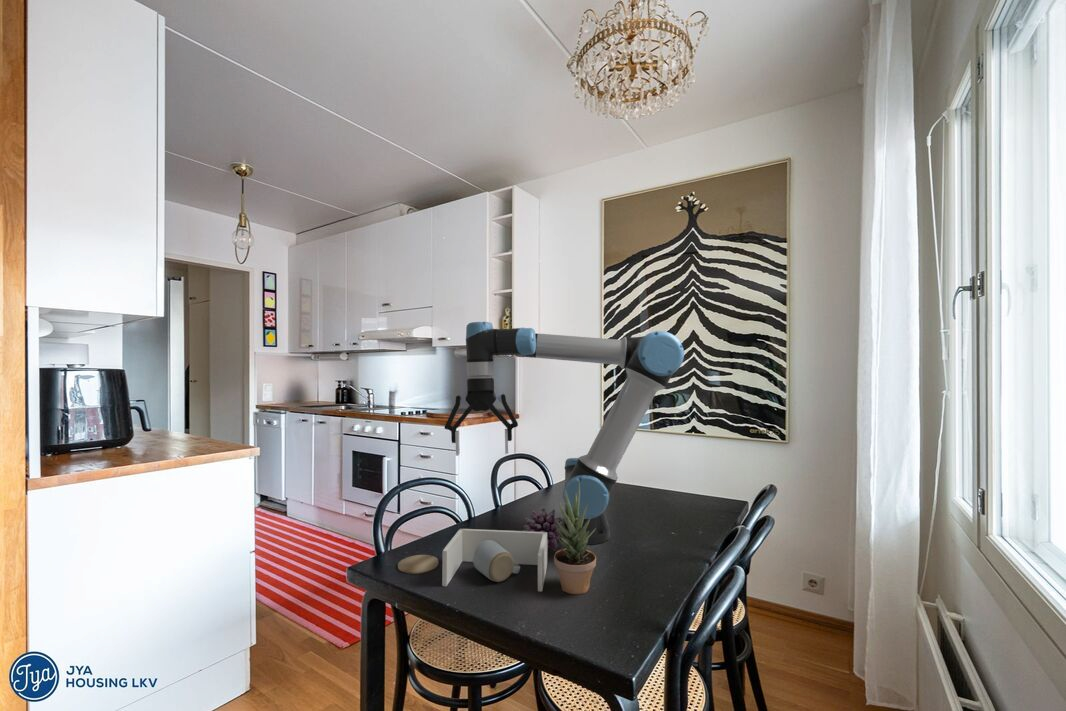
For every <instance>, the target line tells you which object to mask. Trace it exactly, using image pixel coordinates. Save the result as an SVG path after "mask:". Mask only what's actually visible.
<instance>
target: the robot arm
mask: <svg viewBox="0 0 1066 711" xmlns="http://www.w3.org/2000/svg"><path fill="white" fill-rule="evenodd" d="M465 329H466V334H465V347H466V348H465V349H466V350H465V351H466V376H467V377H468V378H467V379H466V387H467V388H466V396H464V395H456V396H455V403H454V406H453V407H452V408H453V409H452V410H451V412H450V414H449V416H448V419H447V420H446V423H445V425H444V430H449V431H450V433H451V434H450V435H451V438H450V439H451V443H452V444H455V456H459V455H460V453H461V452H460V430H457V429H458V428H459V427H460V425H461V424H462V423H463V421H464V420H465V419H466V418H467V417H468V415H470V413H471V412H472V411H475V412H480V411H482V412H486V411H489V410H490V411H491V413H493V414H494V415H495V417H496V418H498V420H499V421H500V422H501V423H502V424H503V425H504V426H505V429H504V448H505V449H504V451H505V453H504V454H505V455H508V454H509V442H512V440H513V432H512V431H513V429H515V428H517V427H518V426H519V424H518V421H517V419H516V417H515V415H514V414H513V411H512V410H511V408H510V406H509V404H508V402H507V397H506V394H504V393H502V394H498V395H496V394H495V379H494V378H493V377H494V376H495V372H494V371H495V370H494V369H495V366H494V357H495V356H496V357H499V356H514V357H518V358H533V359H535V358H536V359H537V358H538V359H545V360H546V359H548V360H549V359H550V360H556V361H557V360H559V361H572V362H580V363H581V362H582V363H590V364H591V363H593V364H605V365H614V366H615V365H617V366H619V367H620V368H621V369H622V370H625V371H626V375H627V377H626V379H625V381H624V383H623V385H622V387H621V389H620V391H619V393H618V395H617V396H616V399H614V400H615V401H614V403H613V404H612V406H611V409H610V410H609V412H608V414H607V416H606V418H605V420H604V421H603V423H602V425H601V427H600V429H599V431H598V433H597V435H596V437H595V438H594V440H593V442H592V445H591V447H590V448H589V451H588V452H587V454H584V455H581V456H579V457H570V458H566V460H565V461H564V462H565V464H564V488H563V492H562V496H563V497H562V498H563V501H564V511H565V513H566V515H567V516H568V509H567V504H566V498H565V490H566V493H567V496H568V499H569V502H570V505H571V508H572V512H573V504H574V500H575V493H576V496H577V495H578V484H579V480H580V502H579V516H578V519H579V517H580V516H581V514H582V512H583V510H584V508H585V507H586V505H587V510H586V513H585V516H584V520H583V524H582V527H583V526H584V525H585V523H586V522H587V521H588V519H589V518H590V517H591V518H590V521H589V524H588V526H587V528H586V533H587V532H588V531H589V533H588V535H589V534H590V533H591V532H592V531H593V530H594V529H595V528H596V529H595V531H594V532H593V533H592V535H591V536H590V537H589V538H588V543H587V544H586V545H596V544H601V543H604V542H607V541H608V540H610V538H611V529H610V526H609V522H608V519H607V516H606V512H605V511H606V509H607V507H608V505H609V502H610V494H611V492H612V491H613V489H614V486H615V485H616V482H617V481H618V475H617V468H618V467H619V464H620V462H621V460H622V459H623V456H624V455H625V453H626V451H627V449H628V448H629V445H630V443H631V441H632V439H633V438H634V436H635V434H636V432H637V430H638V428H639V426H640V424H641V422H642V420H643V419H644V417H645V415H646V412H647V411H648V409H649V407H650V406H651V404H652V401H653V400H654V397H655V396H656V394H657V392H659V391H662V390H665V389H666V388H667V385H668V383H669V382H670V380H671V378H672V376H673V374H674V373H675V372H677V371H678V370H679V368H680V367H681V366H682V364H683V362H684V357H685V352H684V351H685V350H684V346H683V344H682V342H681V341H680V340H679V338H678V337H677V336H675V335H674V334H673V333H671V332H667V331H665V330H663V331H662V330H655V331H651V332H649V333H646V334H645V335H643V336H634V337H632V336H631V337H630V336H624V337H622V338H621V339H616V338H615V339H614V338H613V339H612V338H600V337H589V336H588V337H587V336H575V335H564V334H549V333H548V334H547V333H536V331H535V329H534V328H532V327H528V328H527V327H516V328H515V327H514V328H499V329H498V328H494V326H493V323H492V322H489V321H474V322H473V321H472V322H469V323H468V324H467V325H466V328H465ZM496 400H498V402H499V403H501V404H502V406H503V408H504V410H505V412H506V414H507V416H508V417H509V419H510V421H511V423H510V422H509V421H508V420H507V419H506V418H505V417H504V415H503V414H502V413H501V412H500V411H499V410H498V409H497V407H496V406H495V405H494V403H495V401H496ZM464 401H466V403H467V404H468V405H469V406H468V407H467V408H466V409H465V411H464V412H463V413H462V415H460V416H459V418H458V420H457V421H456V422H455V423H454V424H453V421H454V419H455V417H456V414H457V412H458V411H459V408H460V406H461V404H463V403H464ZM452 424H453V425H452ZM561 518H562V519H563V520H562V521H561V522H560V524H561V525H562V526H564V527H565V528H566V529H568V528H567V525H566V523H565V520H564V518H563V516H562V517H561ZM562 534H563V535H564V536H565V534H564V533H562ZM588 535H587V536H588ZM560 536H561V535H560ZM565 537H566V536H565ZM561 538H562V537H561ZM566 538H567V537H566Z"/></svg>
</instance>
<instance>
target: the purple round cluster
mask: <svg viewBox="0 0 1066 711" xmlns="http://www.w3.org/2000/svg"><path fill="white" fill-rule="evenodd" d="M555 513H556V510H555V509H552V511H550V512H548V513H547V512H546V508H545V507H541V508H540V511H539V513H538V512H536V511H535V510H531V513H530V514H529V516H530V518H527V517H525V519H524V521H526V523H527V525H524V526H523V528H524V529H522V530H521V531H529V532H547V550H548V548H551V550H553V551H554V552H556V549H557V548H558V547H559V545H558V543H557V542H560V541H559V540H558V539H557V537H558V538H559V539H560V540H562V539H561V536H560V534H559V532H558V530H557V528H556V526H555V523H556V525H557V527H558V528H559V530H560V531H561V533H563V531H562V530H561V529H560V527H559V526H558V524H557V522H556V520H555V518H556V519H557V520H558V522H559V523H561V521H562V520H563V519H562V517H561V516H559V517H555ZM554 522H555V523H554Z"/></svg>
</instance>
